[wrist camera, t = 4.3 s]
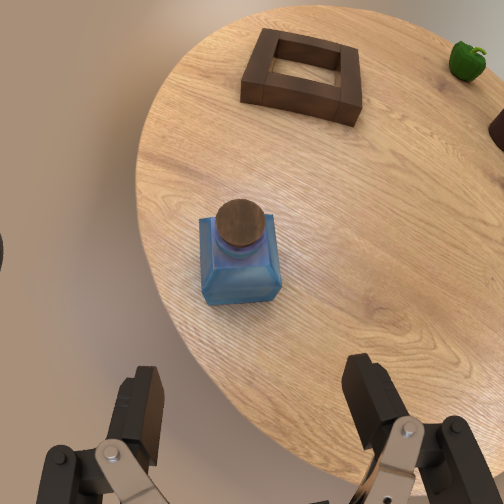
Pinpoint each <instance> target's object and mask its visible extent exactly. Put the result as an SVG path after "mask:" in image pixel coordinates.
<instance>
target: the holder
mask: <svg viewBox="0 0 504 504" xmlns="http://www.w3.org/2000/svg"><path fill="white" fill-rule="evenodd" d="M276 58H282V59H287V60H292V61H297V62H301V63H306V64H310V65H315V66H319V67H323V68H327V69H331V70H335V84H334V86H332V85H328V84H324V83H320V82H316V81H312V80H307V79H303V78H298V77H294V76H289V75H284V74H278V73H273V72H272V69H273V66H274V62H275V59H276ZM240 102H243V103H249V104H255V105H261V106H267V107H272V108H277V109H282V110H287V111H292V112H296V113H301V114H305V115H309V116H314V117H318V118H322V119H326V120H330V121H333V122H337V123H341V124H344V125H348V126H351V127H354V125H355V123H356V121H357V118H358V116H359V114H360V112H361V110H362V91H361V77H360V65H359V55H358V49H355V48H352V47H349V46H345V45H342V44H338V43H334V42H330V41H326V40H322V39H318V38H313V37H309V36H304V35H300V34H295V33H289V32H284V31H279V30H273V29H266V28H263V29H262V31H261V33H260V36H259V38H258V41H257V43H256V45H255V48H254V50H253V52H252V55H251V57H250V60H249V62H248V65H247V67H246V70H245V72H244V75H243V77H242V80H241V96H240Z"/></svg>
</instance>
